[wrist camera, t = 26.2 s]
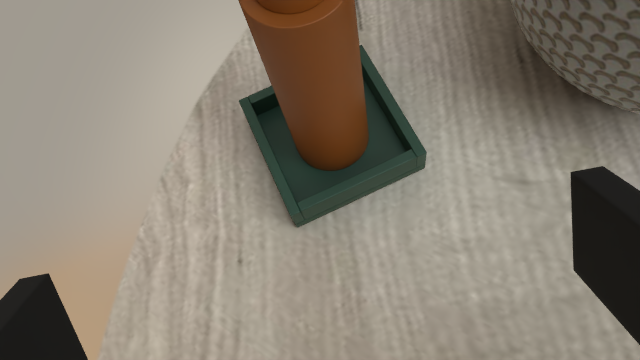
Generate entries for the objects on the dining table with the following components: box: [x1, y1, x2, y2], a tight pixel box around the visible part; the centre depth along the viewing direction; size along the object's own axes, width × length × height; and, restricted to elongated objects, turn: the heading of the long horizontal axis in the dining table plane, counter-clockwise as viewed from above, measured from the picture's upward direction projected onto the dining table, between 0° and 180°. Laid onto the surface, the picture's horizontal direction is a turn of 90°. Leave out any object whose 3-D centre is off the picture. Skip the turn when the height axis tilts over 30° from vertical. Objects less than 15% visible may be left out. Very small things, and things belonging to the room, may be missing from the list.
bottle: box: [239, 0, 369, 171], centre depth 24 cm, size 4×4×16 cm
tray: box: [239, 45, 426, 227], centre depth 32 cm, size 8×8×2 cm
